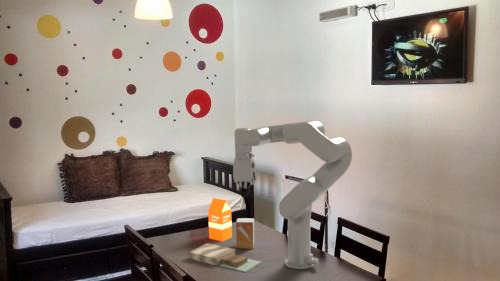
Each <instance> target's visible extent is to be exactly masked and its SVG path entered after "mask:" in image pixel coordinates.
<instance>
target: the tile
mask: <svg viewBox="0 0 500 281" xmlns="http://www.w3.org/2000/svg"><path fill="white" fill-rule="evenodd" d="M248 259H249V258H248V257H247V256H243V255H238V254H236V255H234V254H229V255H227V256H225V257H224V258H222V259H221V263H222V264H226V265H230V266H234V267H240V266H242V265H243V264H245V263H247V262H248Z"/></svg>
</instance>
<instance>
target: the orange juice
mask: <svg viewBox="0 0 500 281" xmlns="http://www.w3.org/2000/svg"><path fill="white" fill-rule="evenodd" d="M207 213H208V214H207V215H208V235H209V236H208V239H211V240H216V241H219V242H224V241H226V240H227V241H228V240H229V239H231V238H232V237H233V224H232V223H233V221H232V219H233V218H232V208H231V206H230V205H229V203H228V201H227V200H226V199H222V198H214V197H213V198H212V200H211V203H210V206H209V208H208V212H207Z"/></svg>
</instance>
